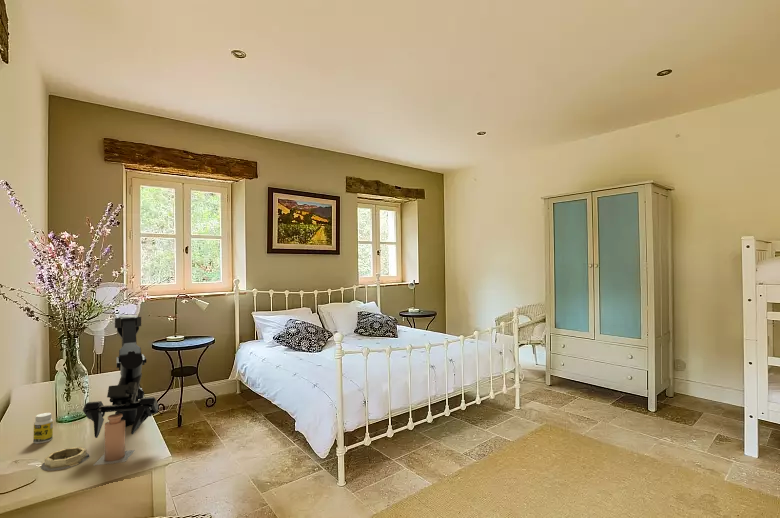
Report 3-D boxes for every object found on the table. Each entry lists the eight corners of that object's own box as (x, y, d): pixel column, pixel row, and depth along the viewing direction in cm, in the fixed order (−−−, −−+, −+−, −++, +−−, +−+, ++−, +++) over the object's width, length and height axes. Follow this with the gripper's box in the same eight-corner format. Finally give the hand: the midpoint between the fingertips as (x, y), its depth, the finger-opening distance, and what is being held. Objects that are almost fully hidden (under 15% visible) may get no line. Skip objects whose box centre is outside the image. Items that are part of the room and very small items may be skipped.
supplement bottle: (30, 445, 130) (31, 418, 130) (36, 439, 134) (36, 413, 135) (49, 442, 132) (50, 415, 132) (54, 436, 136) (55, 411, 137)
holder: (78, 451, 125) (78, 442, 125) (97, 459, 120) (97, 450, 120) (33, 466, 115) (33, 457, 115) (51, 476, 110) (51, 466, 110)
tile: (104, 455, 122) (104, 453, 122) (135, 451, 124) (135, 449, 124) (92, 467, 115) (92, 465, 115) (125, 463, 117) (125, 461, 117)
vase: (119, 452, 123) (119, 411, 123) (128, 455, 121) (128, 414, 121) (100, 458, 119) (101, 416, 119) (110, 462, 116) (110, 419, 116)
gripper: (86, 375, 122) (66, 426, 111) (155, 370, 127) (143, 419, 116) (97, 394, 130) (80, 443, 119) (162, 389, 134) (152, 436, 123)
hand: (114, 435), depth 119 cm, fingers open, 9 cm apart
